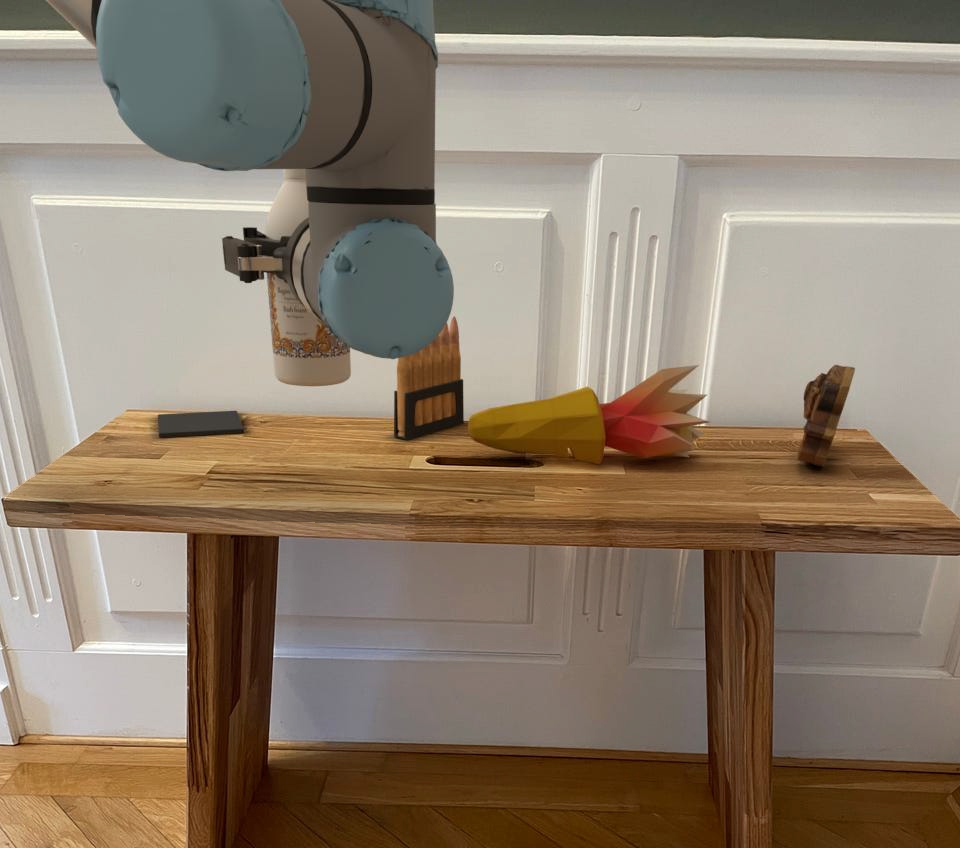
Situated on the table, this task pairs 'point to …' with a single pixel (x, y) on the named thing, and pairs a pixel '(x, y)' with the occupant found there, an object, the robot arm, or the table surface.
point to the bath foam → (299, 306)
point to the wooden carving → (823, 412)
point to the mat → (199, 424)
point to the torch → (597, 422)
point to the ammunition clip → (430, 387)
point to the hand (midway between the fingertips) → (297, 247)
